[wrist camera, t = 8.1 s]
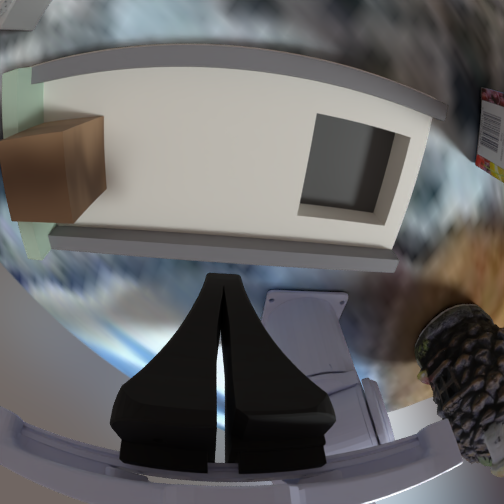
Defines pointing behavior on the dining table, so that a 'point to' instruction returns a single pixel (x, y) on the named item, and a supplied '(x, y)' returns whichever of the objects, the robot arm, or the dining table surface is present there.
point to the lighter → (21, 14)
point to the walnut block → (54, 170)
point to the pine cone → (467, 380)
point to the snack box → (491, 134)
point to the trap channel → (232, 154)
